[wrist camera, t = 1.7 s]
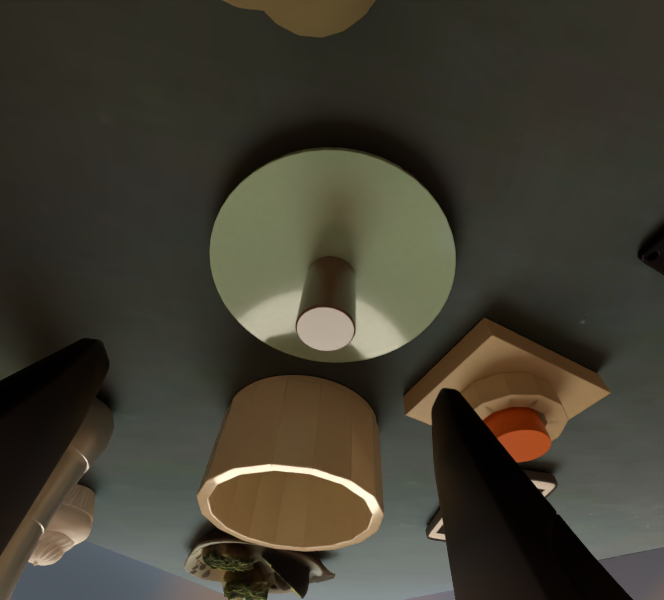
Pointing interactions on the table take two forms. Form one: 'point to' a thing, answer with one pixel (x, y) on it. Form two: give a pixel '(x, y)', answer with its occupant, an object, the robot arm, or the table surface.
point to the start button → (520, 432)
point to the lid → (332, 255)
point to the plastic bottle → (56, 493)
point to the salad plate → (254, 567)
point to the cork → (310, 14)
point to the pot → (295, 466)
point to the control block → (508, 379)
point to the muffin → (66, 527)
